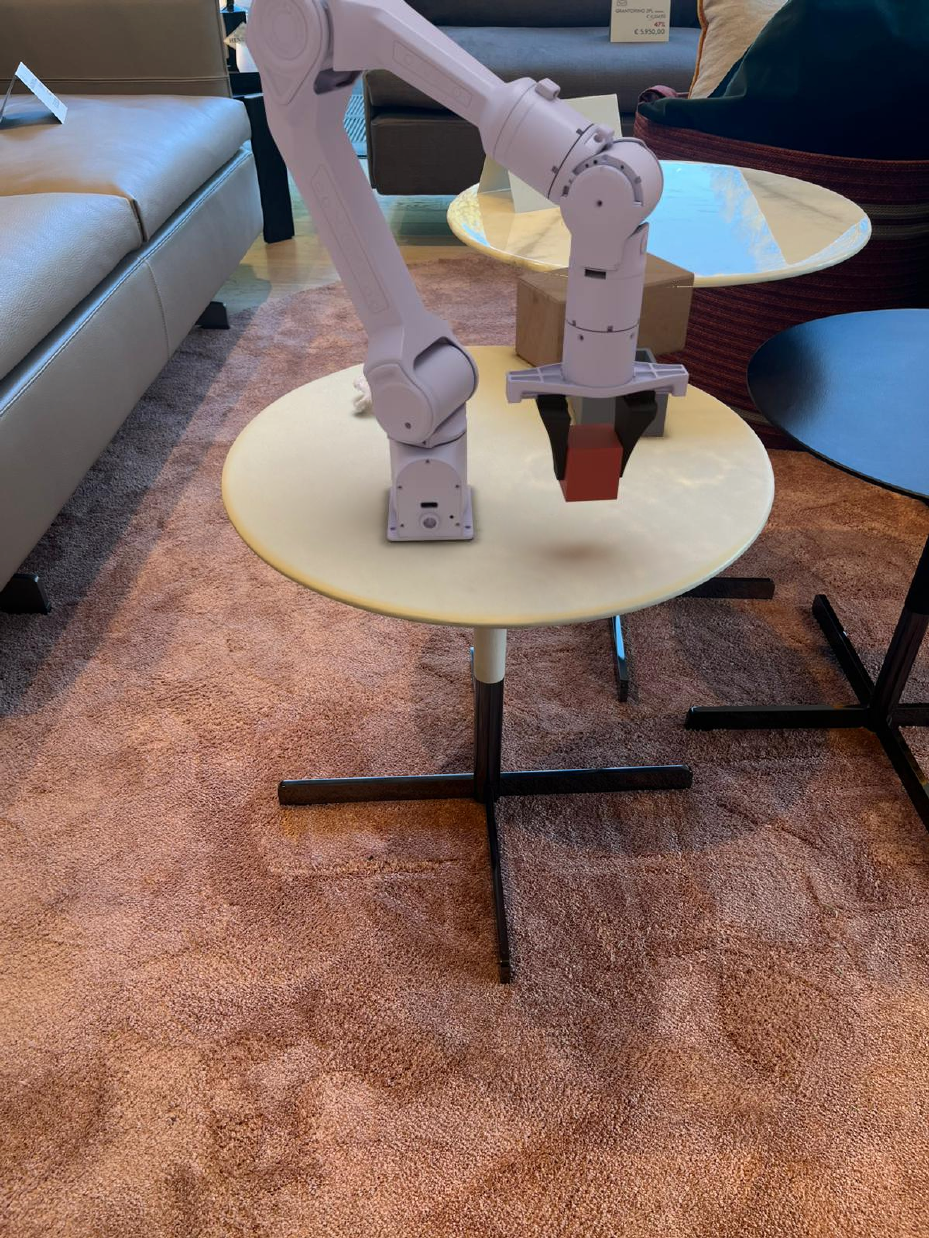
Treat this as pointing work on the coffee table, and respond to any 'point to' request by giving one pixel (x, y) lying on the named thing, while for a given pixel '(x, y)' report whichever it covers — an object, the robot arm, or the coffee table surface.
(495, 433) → the coffee table surface
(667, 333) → the wooden block
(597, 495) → the block
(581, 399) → the tub
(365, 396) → the white lumpy piece
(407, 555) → the coffee table surface
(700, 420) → the coffee table surface
